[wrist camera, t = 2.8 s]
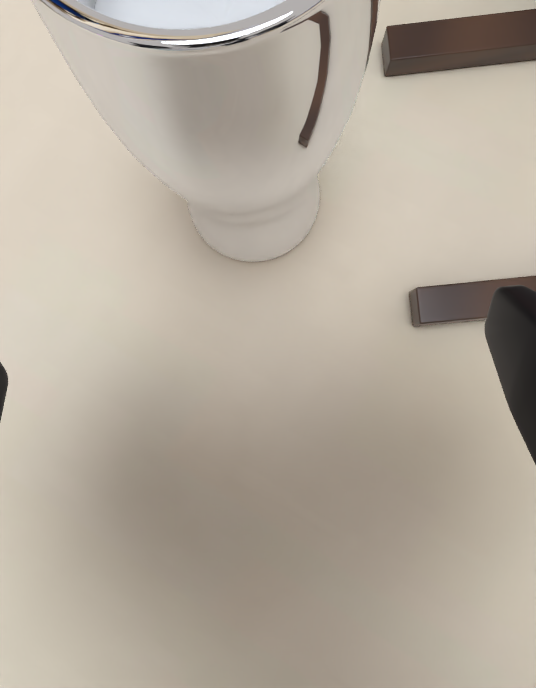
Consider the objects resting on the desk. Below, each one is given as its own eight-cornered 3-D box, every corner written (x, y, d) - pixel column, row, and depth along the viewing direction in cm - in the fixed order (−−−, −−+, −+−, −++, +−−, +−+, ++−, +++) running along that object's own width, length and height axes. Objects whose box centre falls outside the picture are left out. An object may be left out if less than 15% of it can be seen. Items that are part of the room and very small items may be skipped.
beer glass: (265, 303, 22) (218, 156, 7) (148, 210, 22) (-137, -120, 7) (360, 185, 22) (521, -214, 7) (242, 95, 22) (154, -465, 7)
